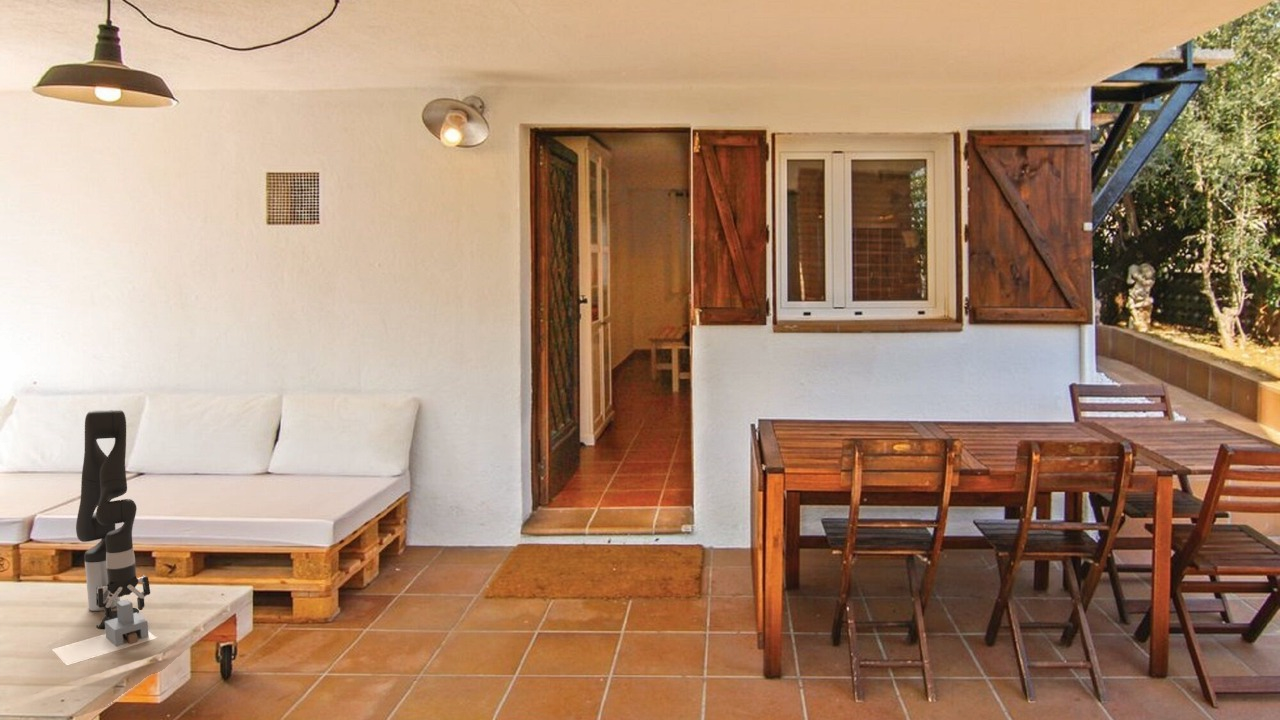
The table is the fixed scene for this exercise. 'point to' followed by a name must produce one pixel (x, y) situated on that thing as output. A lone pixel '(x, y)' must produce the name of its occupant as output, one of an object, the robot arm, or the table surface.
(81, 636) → the table surface
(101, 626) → the carrying case or bag
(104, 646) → the board
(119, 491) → the robot arm
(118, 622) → the block
